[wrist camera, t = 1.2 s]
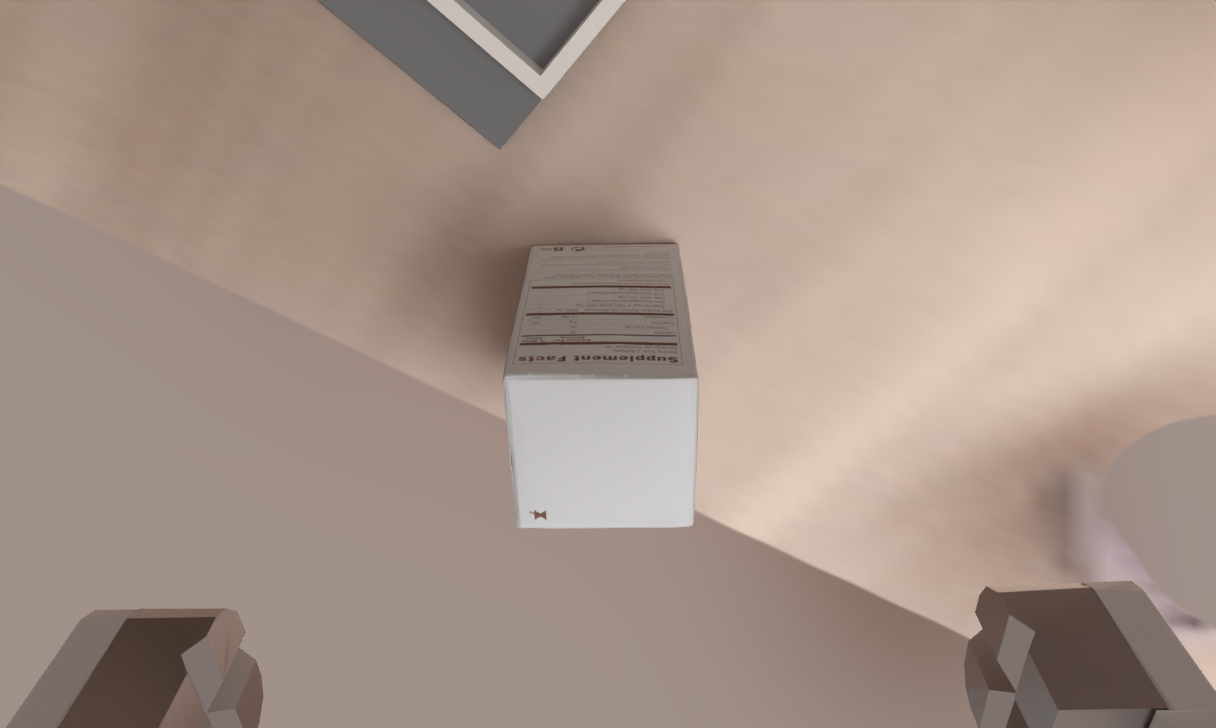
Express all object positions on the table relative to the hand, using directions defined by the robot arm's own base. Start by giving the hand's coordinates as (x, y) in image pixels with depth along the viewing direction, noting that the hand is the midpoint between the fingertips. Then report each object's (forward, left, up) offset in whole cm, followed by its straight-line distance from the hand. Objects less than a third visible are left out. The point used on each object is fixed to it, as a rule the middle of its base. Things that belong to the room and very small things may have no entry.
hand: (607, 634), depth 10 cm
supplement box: (+10, +8, -33) cm, 35 cm away
